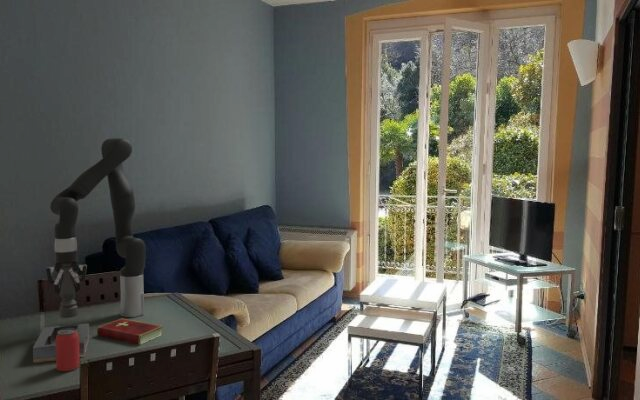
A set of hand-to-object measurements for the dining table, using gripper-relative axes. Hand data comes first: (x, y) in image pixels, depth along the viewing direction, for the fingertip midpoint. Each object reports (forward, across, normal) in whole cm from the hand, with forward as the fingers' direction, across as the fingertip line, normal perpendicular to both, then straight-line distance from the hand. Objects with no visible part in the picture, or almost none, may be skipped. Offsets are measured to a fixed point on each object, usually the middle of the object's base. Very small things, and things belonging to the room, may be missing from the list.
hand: (67, 292), depth 189 cm
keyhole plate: (+15, 0, +19) cm, 24 cm away
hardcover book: (+16, -22, +12) cm, 30 cm away
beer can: (+15, -4, +37) cm, 40 cm away
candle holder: (+9, 0, 0) cm, 9 cm away
